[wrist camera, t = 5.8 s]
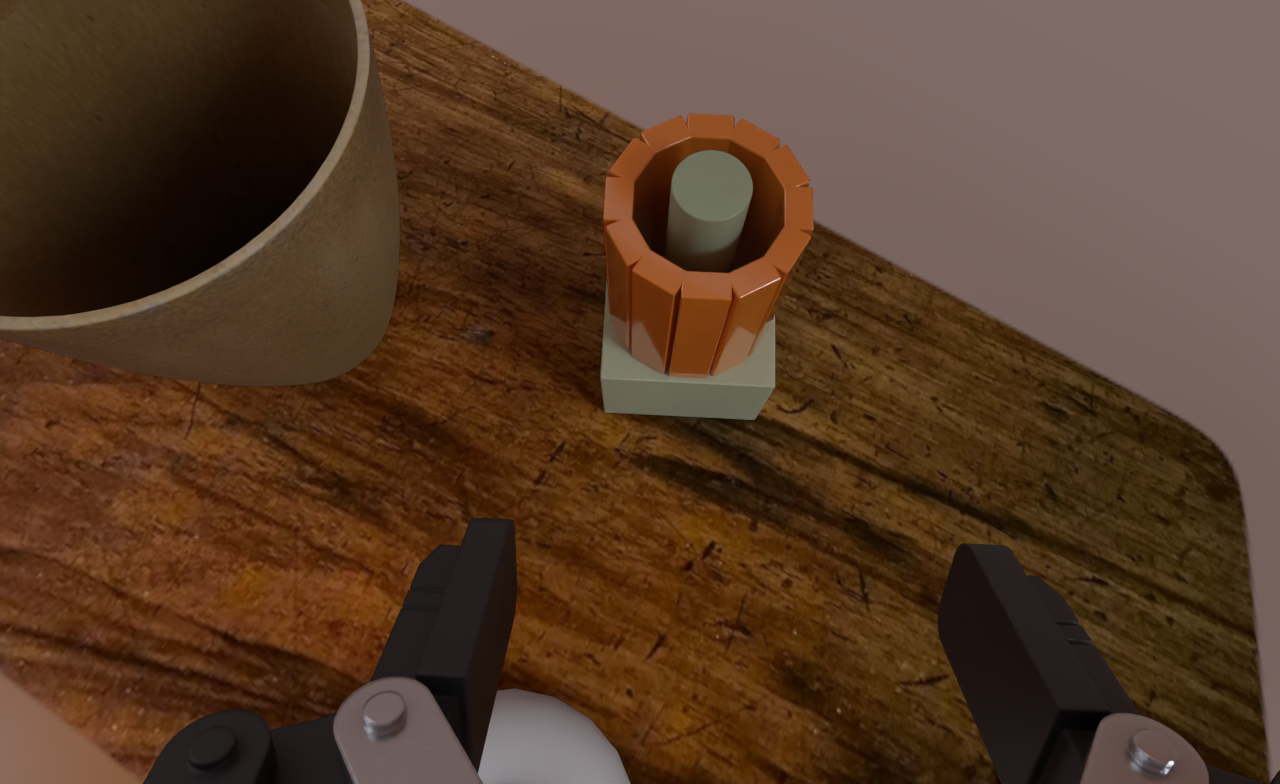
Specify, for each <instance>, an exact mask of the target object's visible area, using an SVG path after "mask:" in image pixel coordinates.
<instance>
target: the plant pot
mask: <svg viewBox="0 0 1280 784" xmlns="http://www.w3.org/2000/svg"><path fill="white" fill-rule="evenodd" d="M399 258H400V214H399V198H398V184H397V176H396V168H395V160H394V152H393V144H392V138H391V133H390V127H389V122H388V117H387V112H386V106H385V101H384V96H383V92H382V87H381V82H380V78H379V73H378V68H377V63H376V59H375V54H374V49H373V45H372V41H371V37H370V33H369V28H368V24H367V20H366V16H365V12H364V8H363V4H362V2H361V0H0V338H1V339H5V340H8V341H11V342H15V343H18V344H21V345H25V346H29V347H33V348H36V349H40V350H44V351H47V352H51V353H55V354H59V355H62V356H66V357H70V358H73V359H78V360H82V361H87V362H91V363H96V364H100V365H105V366H109V367H114V368H118V369H123V370H128V371H133V372H138V373H144V374H149V375H155V376H160V377H167V378H173V379H179V380H187V381H195V382H204V383H212V384H224V385H238V386H291V385H303V384H310V383H316V382H323V381H326V380H330V379H333V378H335V377H338V376H340V375H342V374H344V373H346V372H348V371H350V370H352V369H353V368H355V367H356V366H358V365H359V364H360V363H361V362H362V361H364V360H365V359H366V358H367V357H368V356H369V355H370V354H371V353H372V352H373V351H374V350H375V348H376V347H377V346H378V345H379V343H380V341H381V340H382V338H383V336H384V334H385V332H386V330H387V327H388V324H389V321H390V318H391V314H392V310H393V305H394V300H395V295H396V288H397V281H398V271H399Z"/></svg>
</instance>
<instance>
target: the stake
mask: <svg viewBox="0 0 1280 784" xmlns="http://www.w3.org/2000/svg"><path fill="white" fill-rule="evenodd" d="M752 193H753V183H752V178H751V176H750V173H749V171H748V170H747V168H746V167H745V165H744V164H743V163H742V162H741V161H740V160H738V159H737V158H736V157H734V156H732V155H730V154H728V153H725V152H722V151H716V150H706V151H700V152H697V153H694V154H692V155H690V156H688V157H687V158H685V159H684V160H683V161H682V162H681V163H680V164H679V165H678V166H677V168H676V170H675V171H674V174H673V177H672V182H671V193H670V203H669V214H668V224H667V235H666V245H665V254H664V255H662V257H663V258H665V259H667V260H669V261H670V262H672V263H674V264H675V265H677V266H679V267H680V268H682V269H684V270H686V271H699V272H718V273H730V272H732V271H734V270H736V269H735V267H734V266H733V260H734V257H735V253H736V250H737V246H738V243H739V239H740V236H741V232H742V229H743V225H744V222H745V218H746V215H747V211H748V208H749V204H750V201H751V197H752ZM600 381H601V389H602V398H603V406H604V412H609V413H629V414H649V415H668V416H688V417H707V418H727V419H746V420H755V418H756V417H757V415H758V414H759V412H760V410H761V409H762V407H763V405H764V404H765V402H766V401H767V399H768V397H769V396H770V394H771V392H772V391H773V389H774V388H775V316H774V318H773V320H772V322H771V324H770V326H769V328H768V330H767V332H766V333H765V335H764V336H763V338H762V340H761V341H760V343H759V344H758V346H757V347H756V349H755V350H754V352H753V354H752V355H751V356H750V357H749V356H747V358H746V360H745V362H743V363H741V364H739V365H737V366H735V367H732V368H730V369H728V370H726V371H724V372H722V373H720V374H718V375H716V376H712V375H711V374H710V372H709V373H708V377H707V378H687V377H670V376H669V367H668V369H667V370H666V372H665V373H664V374H661V373H659V372H658V371H656V370H655V369H653V368H651V367H650V366H648V365H646V364H645V363H643V362H641V361H640V360H638V359H637V358H635V357H633V356H632V349H630V350H627V349H626V347H625V346H624V344H623V342H622V340H621V338H620V336H619V335H618V333H617V331H616V329H615V327H614V325H613V323H612V322H611V315H610V314H609V302H608V287H607V282H606V297H605V311H604V326H603V341H602V356H601V370H600Z"/></svg>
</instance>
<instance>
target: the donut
mask: <svg viewBox="0 0 1280 784" xmlns="http://www.w3.org/2000/svg"><path fill="white" fill-rule="evenodd" d="M478 775H479V777H480V779H481V780H482V782H483V784H630V781H629V779H628V776H627V774H626V771H625V769H624V766H623V764H622V762H621V759H620V757H619V754H618V752H617V751H616V749H615V748H614V747H613V746H612V745H611V743H610V742H609V741H608V740H607V739H606V737H605V736H604V735H603V734H602V733H601V731H600V730H599V729H598V728H597V727H596V725H595V724H594V723H593V722H592V721H591V719H590V718H588V717H586V716H585V715H583V714H581V713H580V712H578V711H577V710H575V709H573V708H572V707H570V706H568V705H567V704H565V703H564V702H562V701H560V700H559V699H557V698H555V697H552V696H547V695H543V694H538V693H534V692H529V691H524V690H520V689H507V690H498V691H497V694H496V698H495V703H494V707H493V711H492V716H491V720H490V724H489V728H488V733H487V737H486V741H485V746H484V750H483V754H482V758H481V763H480V767H479V771H478Z"/></svg>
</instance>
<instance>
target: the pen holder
mask: <svg viewBox="0 0 1280 784" xmlns="http://www.w3.org/2000/svg"><path fill="white" fill-rule="evenodd" d="M734 122H735V118H734V116H728V115H727V116H726V115H707V114H688V116H687V124H686V122H685V121H684V119H683V117H682V116H677V117H675V118H673V119H671V120H668V121H666V122H664V123H661V124H659V125H657V126H654V127H652V128H650V129H647V130H645V131H643V132H641V133H640V140H639V139H637V138H634V139H633V140H632V141H631V142H630V144H629V145H628V146H627V148H626V149H625V150H624V152H623V153H622V154H621V156H620V157H619V158H618V160H617V161H616V162H615V164H614V165H613V166H612V167H611V169H610V171H609V177H606V183H605V197H604V211H603V227H604V242H605V257H606V272H607V287H608V302H609V314H610V315H611V322H612V323H613V325H614V327H615V329H616V331H617V333H618V335H619V336H620V338H621V340H622V342H623V344H624V346H625V347H626V349H627V350H630V349H632V356H633V357H635V358H637V359H638V360H640V361H641V362H643V363H645V364H646V365H648V366H650V367H651V368H653V369H655V370H656V371H658V372H659V373H661V374H664V373H665V372H666V370H667V369H668V367H669V376H670V377H687V378H707V377H708V373H709V372H710V374H711V375H712V376H716V375H718V374H720V373H722V372H724V371H726V370H728V369H730V368H732V367H735V366H737V365H739V364H741V363H743V362H745V360H746V358H747V356H749V357H750V356H751V355H752V354H753V352H754V350H755V349H756V347H757V346H758V344H759V343H760V341H761V340H762V338H763V336H764V335H765V333H766V332H767V330H768V328H769V326H770V324H771V322H772V320H773V318H774V316H775V314H776V311H777V309H778V307H779V305H780V303H781V301H782V299H783V297H784V294H785V292H786V290H787V288H788V286H789V284H790V282H791V280H792V277H793V275H794V273H795V271H796V269H797V267H798V265H799V263H800V260H801V258H802V256H803V254H804V252H805V250H806V248H807V246H808V243H809V241H810V239H811V234H812V231H813V229H814V225H813V188H812V187H808V186H809V183H810V179H809V178H808V176H807V175H806V173H805V172H804V170H803V169H802V167H801V165H800V164H799V163H798V161H797V159H796V158H795V157H794V155H793V154H792V152H791V150H790V149H789V147H788V146H787V145H784V146H782V147H779V145H780V139H779V138H777V137H775V136H773V135H771V134H769V133H767V132H766V131H764V130H762V129H760V128H758V127H757V126H755V125H753V124H751V123H749V122H747V121H745V120H744V119H741V120H740V121H739V122H738V123H737V124H736V126H735V127H734ZM706 150H716V151H722V152H725V153H728V154H730V155H732V156H734V157H736V158H737V159H738V160H740V161H741V162H742V163H743V164H744V165H745V167H746V168H747V170H748V171H749V173H750V176H751V178H752V183H753V193H752V197H751V201H750V204H749V208H748V211H747V215H746V218H745V222H744V225H743V229H742V232H741V236H740V239H739V243H738V246H737V250H736V253H735V257H734V260H733V266H734V267H735V269H736V270H734V271H732V272H730V273H718V272H699V271H686V270H684V269H682V268H680V267H679V266H677V265H675V264H674V263H672V262H670V261H669V260H667V259H665V258H663V257H662V255H664V254H665V245H666V235H667V224H668V214H669V203H670V193H671V182H672V177H673V174H674V171H675V170H676V168H677V166H678V165H679V164H680V163H681V162H682V161H683V160H684V159H685V158H687V157H688V156H690V155H692V154H694V153H697V152H700V151H706Z"/></svg>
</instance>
